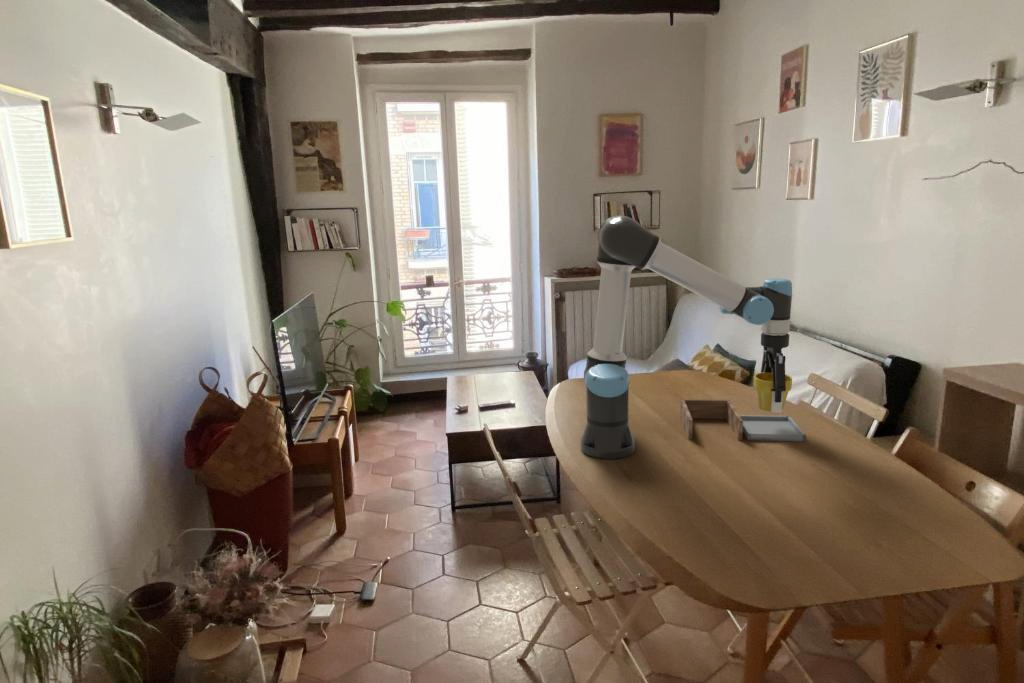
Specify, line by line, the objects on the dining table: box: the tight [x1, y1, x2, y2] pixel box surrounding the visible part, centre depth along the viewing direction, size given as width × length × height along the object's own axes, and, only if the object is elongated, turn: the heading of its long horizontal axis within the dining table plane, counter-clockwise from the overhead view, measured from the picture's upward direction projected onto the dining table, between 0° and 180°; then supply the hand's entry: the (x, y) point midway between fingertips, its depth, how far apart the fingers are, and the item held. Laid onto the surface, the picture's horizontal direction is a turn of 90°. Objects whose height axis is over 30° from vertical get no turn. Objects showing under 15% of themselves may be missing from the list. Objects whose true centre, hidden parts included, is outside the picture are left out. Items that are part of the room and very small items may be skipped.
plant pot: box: [753, 371, 793, 413], centre depth 182 cm, size 10×10×10 cm
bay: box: [679, 398, 743, 441], centre depth 188 cm, size 19×15×6 cm
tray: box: [739, 414, 806, 442], centre depth 185 cm, size 16×16×2 cm
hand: (771, 405), depth 183 cm, fingers closed on plant pot, 10 cm apart
